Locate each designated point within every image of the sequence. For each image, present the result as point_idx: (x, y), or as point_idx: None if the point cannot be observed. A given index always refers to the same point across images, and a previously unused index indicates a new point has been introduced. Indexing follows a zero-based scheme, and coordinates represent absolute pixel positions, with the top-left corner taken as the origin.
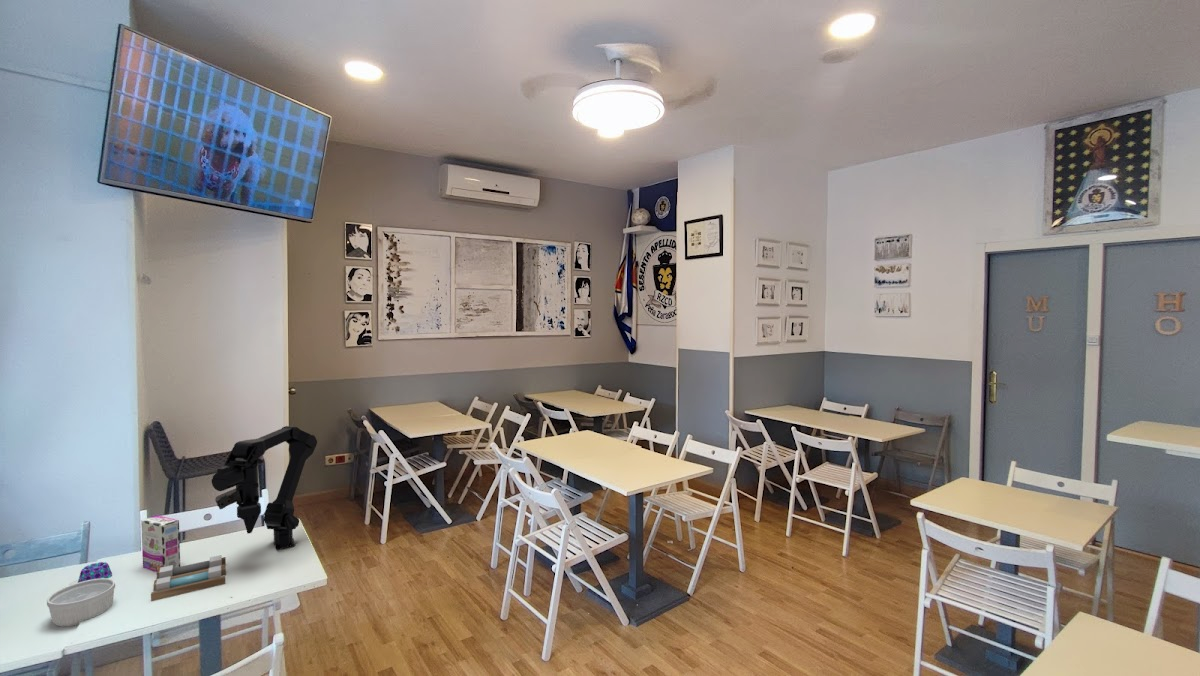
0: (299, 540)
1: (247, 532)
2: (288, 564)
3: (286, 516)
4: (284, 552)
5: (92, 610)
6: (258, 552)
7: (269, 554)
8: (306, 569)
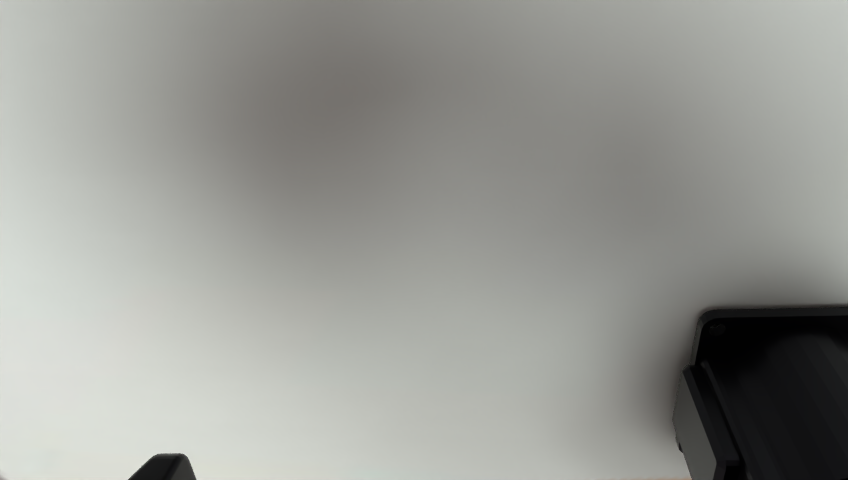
0: None
1: (139, 473)
2: (307, 386)
3: None
4: (589, 375)
5: None
6: (769, 191)
7: (631, 277)
8: None
